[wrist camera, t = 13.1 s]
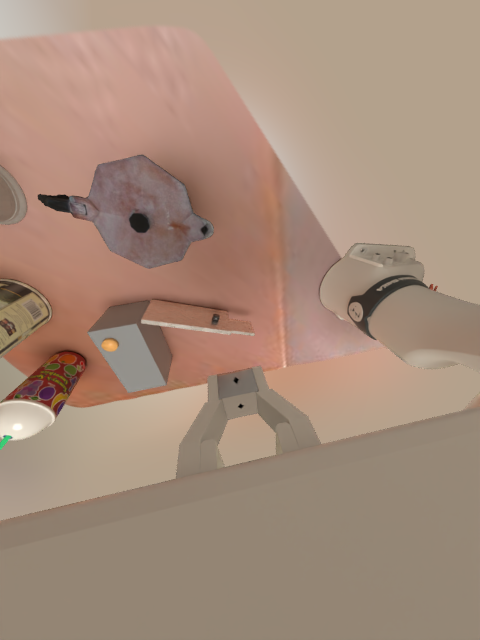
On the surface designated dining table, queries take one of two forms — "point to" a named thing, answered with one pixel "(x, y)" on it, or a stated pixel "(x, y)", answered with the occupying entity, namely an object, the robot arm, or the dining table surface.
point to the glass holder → (11, 199)
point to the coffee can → (20, 313)
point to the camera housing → (132, 347)
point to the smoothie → (40, 397)
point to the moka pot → (138, 211)
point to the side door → (194, 318)
